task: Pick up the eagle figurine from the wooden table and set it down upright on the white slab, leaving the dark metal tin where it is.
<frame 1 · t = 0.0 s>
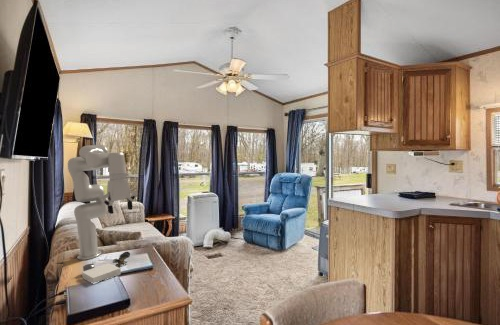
hand: (120, 211, 148), 31 cm above the table, tool pointing down, fingers open, 9 cm apart
eagle figurine: (122, 265, 160), on the table
white slab: (101, 276, 147), on the table
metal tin: (89, 273, 152), on the table
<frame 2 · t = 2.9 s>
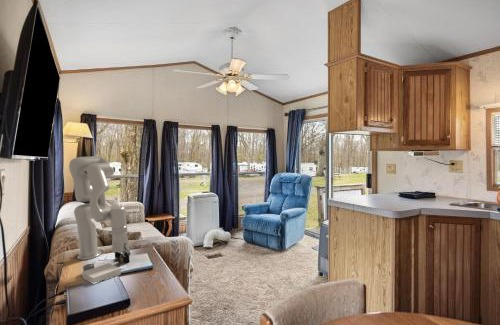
hand: (122, 261, 160), 2 cm above the table, tool pointing down, fingers closed on eagle figurine, 8 cm apart
eagle figurine: (122, 264, 161), on the table, touching gripper
everything else where it was.
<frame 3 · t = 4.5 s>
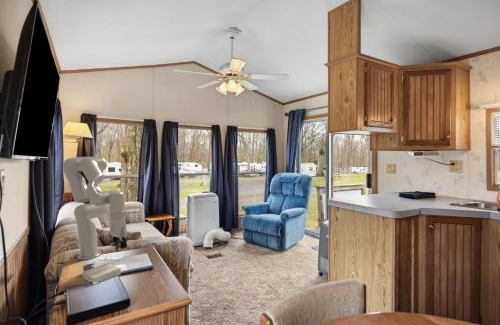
hand: (119, 246, 160), 10 cm above the table, tool pointing down, fingers closed on eagle figurine, 8 cm apart
eagle figurine: (120, 249, 162), point 8 cm above the table, touching gripper
everything else where it was.
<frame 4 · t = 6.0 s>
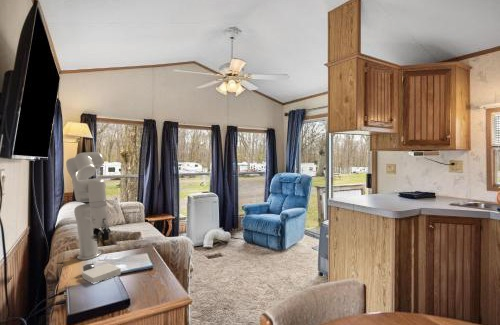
hand: (101, 238, 148), 18 cm above the table, tool pointing down, fingers closed on eagle figurine, 8 cm apart
eagle figurine: (102, 242, 149), point 16 cm above the table, touching gripper
everything else where it was.
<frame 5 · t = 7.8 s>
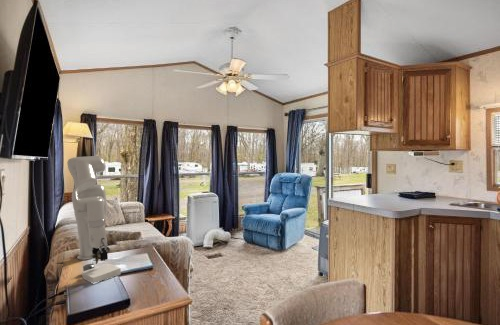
hand: (100, 258, 147), 9 cm above the table, tool pointing down, fingers closed on eagle figurine, 8 cm apart
eagle figurine: (101, 261, 148), point 7 cm above the table, touching gripper
everything else where it was.
when the fingers open (6 cm above the table, at t = 9.1 s): eagle figurine stays where it is, resting on white slab.
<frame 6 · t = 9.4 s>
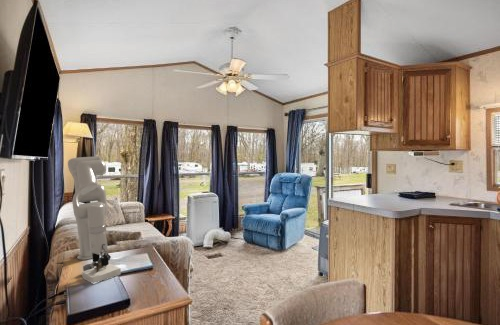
hand: (100, 263, 147), 6 cm above the table, tool pointing down, fingers open, 9 cm apart
eagle figurine: (101, 269, 148), point 3 cm above the table, touching white slab
everything else where it was.
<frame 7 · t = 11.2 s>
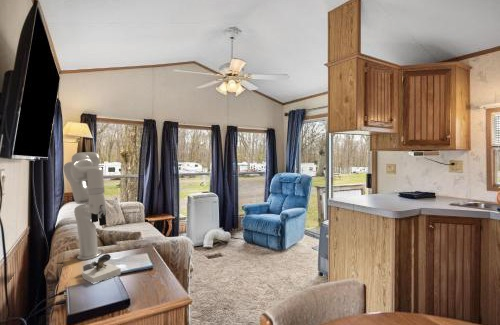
hand: (98, 223, 155), 24 cm above the table, tool pointing down, fingers open, 9 cm apart
nothing on the table moved.
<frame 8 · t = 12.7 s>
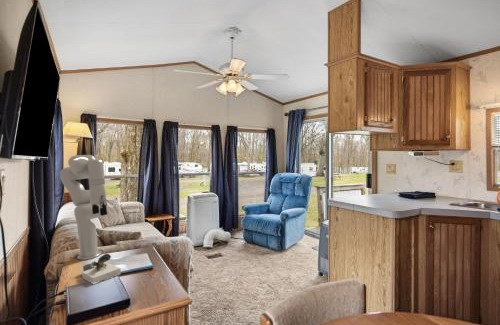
hand: (99, 214, 160), 28 cm above the table, tool pointing down, fingers open, 9 cm apart
nothing on the table moved.
at the end: eagle figurine inside the target area on the white slab (2.1 cm from its centre), point 2.8 cm above the white slab's base; eagle figurine tilted 0°; the gripper is holding nothing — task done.
